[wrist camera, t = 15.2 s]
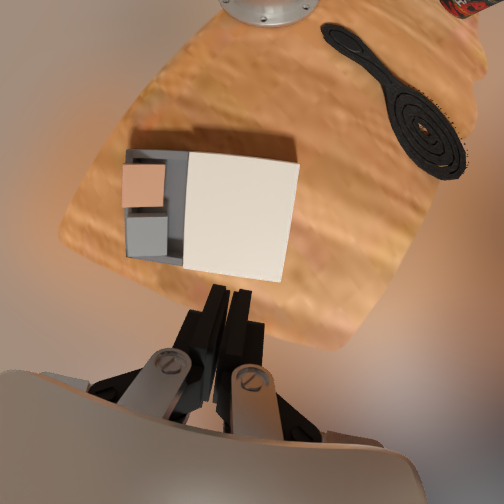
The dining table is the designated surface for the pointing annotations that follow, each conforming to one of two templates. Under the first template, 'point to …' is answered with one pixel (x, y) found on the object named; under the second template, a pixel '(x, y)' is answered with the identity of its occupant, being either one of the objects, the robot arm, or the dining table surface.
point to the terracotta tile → (143, 184)
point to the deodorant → (466, 6)
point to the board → (238, 214)
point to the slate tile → (147, 234)
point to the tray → (166, 199)
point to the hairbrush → (407, 112)
